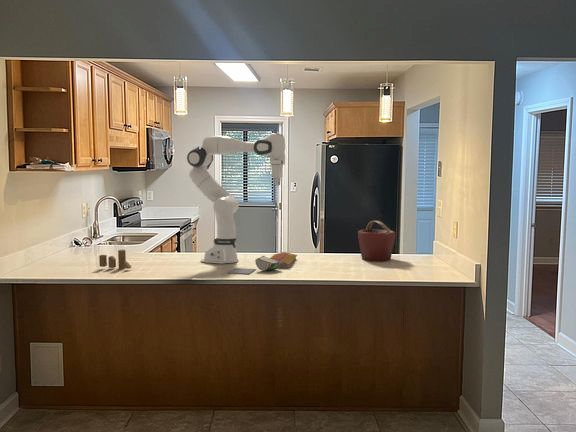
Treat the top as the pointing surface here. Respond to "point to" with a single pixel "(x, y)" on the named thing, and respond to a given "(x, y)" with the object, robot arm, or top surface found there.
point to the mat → (241, 271)
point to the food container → (267, 263)
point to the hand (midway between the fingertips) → (277, 185)
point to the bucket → (376, 243)
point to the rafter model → (284, 259)
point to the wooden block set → (112, 260)
